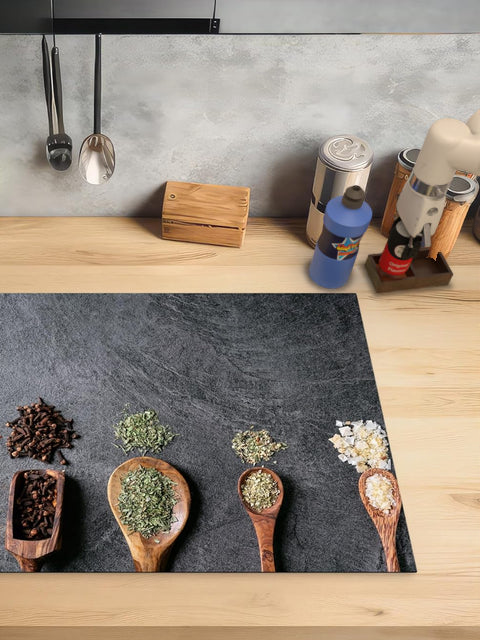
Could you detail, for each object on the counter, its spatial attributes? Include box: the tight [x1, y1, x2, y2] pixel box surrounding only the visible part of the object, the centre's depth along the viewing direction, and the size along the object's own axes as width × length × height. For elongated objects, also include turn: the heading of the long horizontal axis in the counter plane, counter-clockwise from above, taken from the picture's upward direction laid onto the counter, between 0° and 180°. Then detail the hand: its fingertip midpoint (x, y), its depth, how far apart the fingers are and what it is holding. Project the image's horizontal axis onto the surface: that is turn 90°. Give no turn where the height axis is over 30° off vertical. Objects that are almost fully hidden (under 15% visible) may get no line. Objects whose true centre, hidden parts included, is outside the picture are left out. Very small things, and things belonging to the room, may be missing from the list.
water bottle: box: [308, 184, 373, 290], centre depth 156 cm, size 9×9×25 cm
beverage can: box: [379, 221, 420, 275], centre depth 158 cm, size 6×6×12 cm
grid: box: [364, 247, 454, 294], centre depth 164 cm, size 16×9×4 cm, turn 98°
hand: (402, 245), depth 157 cm, fingers closed on beverage can, 6 cm apart
